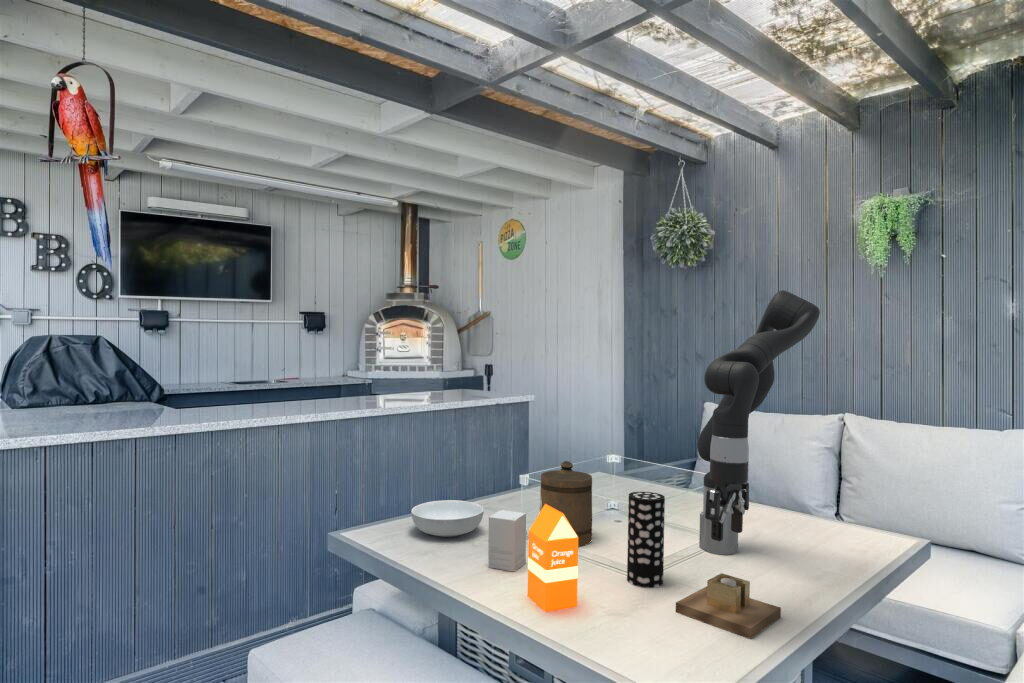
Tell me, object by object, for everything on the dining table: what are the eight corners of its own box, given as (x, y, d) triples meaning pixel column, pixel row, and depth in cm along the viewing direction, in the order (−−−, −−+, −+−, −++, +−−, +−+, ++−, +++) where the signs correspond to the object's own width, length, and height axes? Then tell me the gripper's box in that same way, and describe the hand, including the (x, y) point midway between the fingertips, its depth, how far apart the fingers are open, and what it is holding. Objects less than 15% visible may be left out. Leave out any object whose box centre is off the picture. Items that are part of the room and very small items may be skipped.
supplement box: (526, 563, 158) (527, 512, 158) (514, 572, 151) (515, 520, 151) (500, 558, 161) (501, 509, 161) (486, 567, 154) (487, 516, 154)
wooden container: (561, 528, 188) (563, 455, 188) (602, 539, 178) (603, 462, 178) (528, 538, 178) (529, 461, 178) (569, 551, 167) (570, 469, 167)
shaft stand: (675, 612, 130) (676, 578, 130) (708, 594, 140) (709, 562, 140) (750, 638, 119) (751, 602, 119) (780, 617, 129) (781, 583, 129)
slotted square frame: (706, 604, 130) (707, 580, 130) (721, 596, 134) (721, 573, 134) (735, 614, 125) (736, 589, 125) (749, 605, 130) (749, 581, 130)
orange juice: (544, 612, 129) (546, 515, 129) (526, 596, 137) (528, 504, 137) (577, 606, 132) (579, 511, 132) (558, 591, 140) (560, 501, 140)
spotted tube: (642, 590, 142) (644, 501, 142) (619, 577, 149) (621, 493, 149) (670, 584, 146) (672, 498, 146) (647, 572, 153) (648, 490, 153)
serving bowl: (422, 520, 194) (422, 498, 194) (489, 524, 191) (489, 501, 191) (401, 541, 173) (401, 516, 173) (475, 546, 170) (476, 520, 170)
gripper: (730, 465, 122) (727, 548, 122) (762, 456, 132) (760, 533, 132) (695, 458, 127) (692, 538, 128) (728, 451, 137) (726, 525, 137)
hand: (727, 536), depth 130 cm, fingers open, 8 cm apart
